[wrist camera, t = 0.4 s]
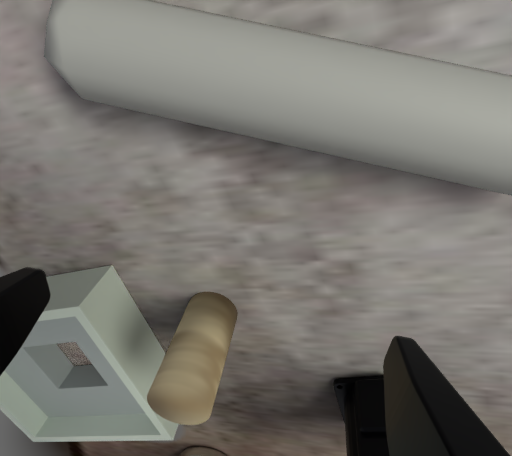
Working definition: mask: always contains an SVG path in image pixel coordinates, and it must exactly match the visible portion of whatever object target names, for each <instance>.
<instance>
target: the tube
mask: <svg viewBox="0 0 512 456" xmlns="http://www.w3.org/2000/svg"><path fill="white" fill-rule="evenodd" d="M44 57H45V58H46V60H47V61H48V62H49V63H50V64H51V65H52V66H53V67H54V68H55V70H56V71H57V72H58V73H59V74H60V75H61V76H62V77H63V79H64V80H65V81H66V82H67V83H68V84H69V85H70V86H71V87H72V88H73V89H74V91H75V92H76V93H77V94H78V95H79V96H80V97H81V98H82V99H84V100H89V101H93V102H98V103H102V104H107V105H111V106H116V107H120V108H124V109H129V110H133V111H138V112H142V113H147V114H151V115H156V116H160V117H164V118H169V119H173V120H178V121H182V122H187V123H191V124H196V125H200V126H205V127H209V128H213V129H218V130H222V131H227V132H231V133H236V134H240V135H245V136H249V137H253V138H258V139H262V140H267V141H271V142H276V143H280V144H285V145H289V146H294V147H298V148H302V149H307V150H311V151H316V152H320V153H325V154H329V155H334V156H338V157H342V158H347V159H351V160H356V161H360V162H365V163H369V164H374V165H378V166H383V167H387V168H391V169H396V170H400V171H405V172H409V173H414V174H418V175H423V176H427V177H431V178H436V179H440V180H445V181H449V182H454V183H458V184H463V185H467V186H472V187H476V188H480V189H485V190H489V191H494V192H498V193H503V194H507V195H512V76H511V75H506V74H501V73H497V72H492V71H487V70H482V69H477V68H473V67H468V66H463V65H458V64H454V63H449V62H444V61H439V60H434V59H430V58H425V57H420V56H415V55H410V54H406V53H401V52H396V51H391V50H386V49H382V48H377V47H372V46H367V45H362V44H358V43H353V42H348V41H343V40H338V39H334V38H329V37H324V36H319V35H315V34H310V33H305V32H300V31H295V30H291V29H286V28H281V27H276V26H271V25H267V24H262V23H257V22H252V21H247V20H243V19H238V18H233V17H228V16H223V15H219V14H214V13H209V12H204V11H200V10H195V9H190V8H185V7H180V6H176V5H171V4H166V3H161V2H156V1H152V0H53V1H52V4H51V8H50V12H49V16H48V20H47V26H46V38H45V50H44Z"/></svg>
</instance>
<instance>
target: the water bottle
mask: <svg viewBox="0 0 512 456" xmlns="http://www.w3.org/2000/svg"><path fill="white" fill-rule="evenodd" d="M180 456H226V455H225V454H223V453H221V452H219V451H217V450H214V449H211V448H207V447H191V448H188V449H186V450H184V451H183V452H182V453H181V454H180Z"/></svg>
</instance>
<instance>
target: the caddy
mask: <svg viewBox="0 0 512 456" xmlns="http://www.w3.org/2000/svg"><path fill="white" fill-rule="evenodd" d="M46 278H47V282H48V285H49V289H50V293H51V296H50V300H49V303H48V304H47V306H46V308H45V309H44V311H43V313H42V314H41V316H40V318H39V319H38V321H37V322H36V324H35V326H34V327H33V329H32V331H31V332H30V334H29V335H28V337H27V339H26V340H25V342H24V344H23V345H22V347H21V348H20V350H19V351H18V353H17V354H16V356H15V357H14V358H13V360H12V361H11V363H10V364H9V365H8V367H7V368H6V369H5V371H4V372H3V373H2V375H1V376H0V410H1V411H2V412H3V413H4V414H5V415H6V416H7V417H8V418H9V419H10V420H11V421H12V422H13V423H14V424H15V425H16V426H17V427H19V428H20V429H21V430H22V431H23V432H24V433H25V434H26V435H27V436H28V437H29V438H30V439H31V440H32V441H33V442H58V441H59V442H61V441H63V442H65V441H151V440H173V439H174V436H175V433H176V430H177V428H178V425H179V424H178V423H174V422H171V421H169V420H166V419H164V418H163V417H161V416H159V415H158V414H157V413H155V412H154V411H153V410H152V409H151V407H150V406H149V404H148V402H147V394H148V392H149V390H150V388H151V385H152V383H153V381H154V379H155V376H156V374H157V372H158V370H159V368H160V365H161V363H162V361H163V359H164V356H165V354H166V353H165V352H164V350H163V348H162V347H161V345H160V343H159V342H158V340H157V338H156V337H155V335H154V333H153V332H152V330H151V328H150V327H149V325H148V323H147V322H146V320H145V318H144V317H143V315H142V313H141V312H140V310H139V308H138V307H137V305H136V304H135V302H134V300H133V299H132V297H131V295H130V294H129V292H128V290H127V289H126V287H125V285H124V284H123V282H122V280H121V279H120V277H119V275H118V274H117V272H116V270H115V269H114V267H113V265H110V266H104V267H98V268H93V269H87V270H81V271H76V272H70V273H64V274H59V275H53V276H47V277H46ZM67 342H76V343H77V345H78V346H79V347H80V349H81V350H82V351H83V353H84V354H85V355H86V357H87V358H88V359H89V361H90V362H91V363H92V365H81V366H74V365H73V364H72V363H71V362H70V360H69V359H68V358H67V357H66V355H65V354H64V353H63V352H62V350H61V349H60V348H59V347H58V345H57V344H58V343H67Z"/></svg>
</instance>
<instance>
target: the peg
mask: <svg viewBox="0 0 512 456" xmlns="http://www.w3.org/2000/svg"><path fill="white" fill-rule="evenodd" d="M236 320H237V310H236V307H235V306H234V304H233V303H232V302H231V301H230V300H229V299H228V298H226V297H225V296H223V295H220V294H218V293H214V292H202V293H198V294H196V295H194V296H193V297H192V298H191V299H190V301H189V303H188V305H187V308H186V310H185V312H184V314H183V316H182V319H181V321H180V323H179V325H178V328H177V330H176V332H175V334H174V336H173V339H172V341H171V343H170V345H169V348H168V350H167V352H166V354H165V356H164V359H163V361H162V363H161V365H160V368H159V370H158V372H157V374H156V376H155V379H154V381H153V383H152V385H151V388H150V390H149V392H148V394H147V402H148V404H149V406H150V407H151V409H152V410H153V411H154V412H155V413H157V414H158V415H159V416H161V417H163V418H164V419H166V420H169V421H171V422H174V423H178V424H183V425H197V424H201V423H203V422H205V421H207V420H208V419H209V417H210V415H211V412H212V408H213V404H214V401H215V397H216V393H217V390H218V386H219V382H220V379H221V375H222V371H223V368H224V364H225V360H226V357H227V353H228V349H229V346H230V342H231V338H232V335H233V331H234V327H235V323H236Z"/></svg>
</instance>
